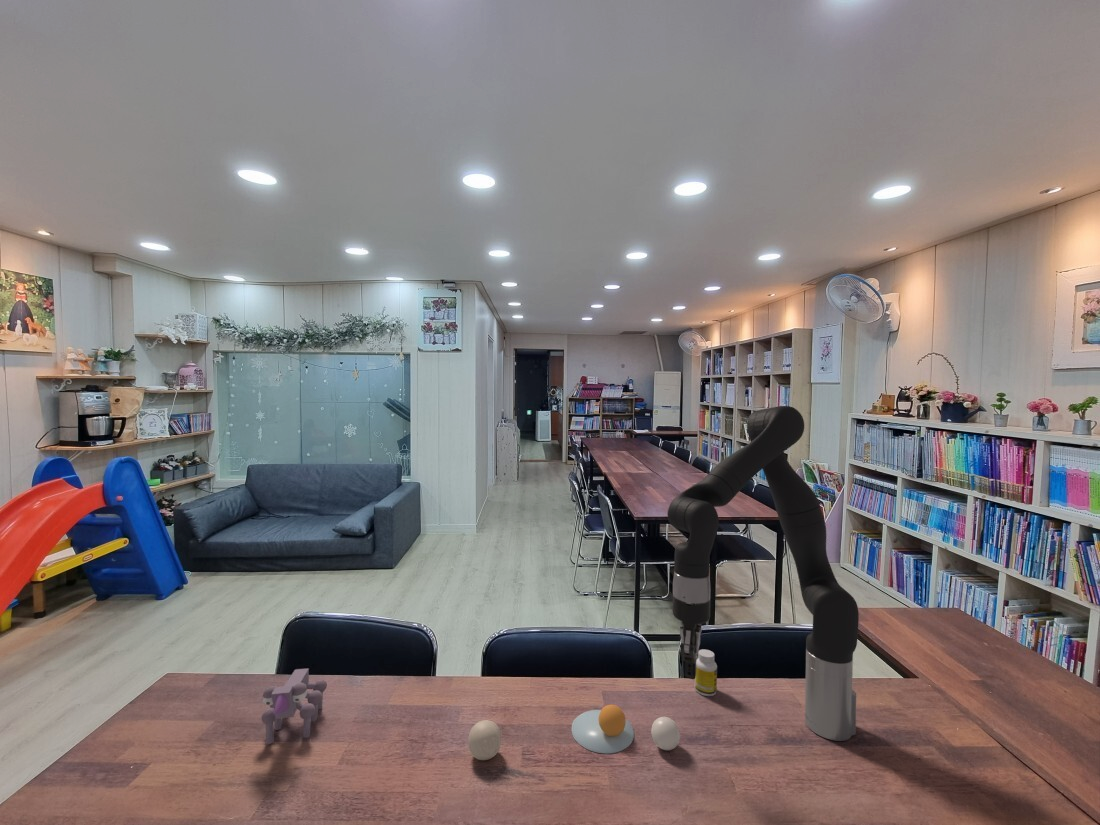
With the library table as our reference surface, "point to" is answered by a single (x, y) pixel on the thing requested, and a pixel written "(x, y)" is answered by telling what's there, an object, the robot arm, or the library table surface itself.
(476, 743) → the beige egg
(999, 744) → the library table surface
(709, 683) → the supplement bottle
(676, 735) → the cue ball
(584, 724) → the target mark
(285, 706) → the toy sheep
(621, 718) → the object ball
